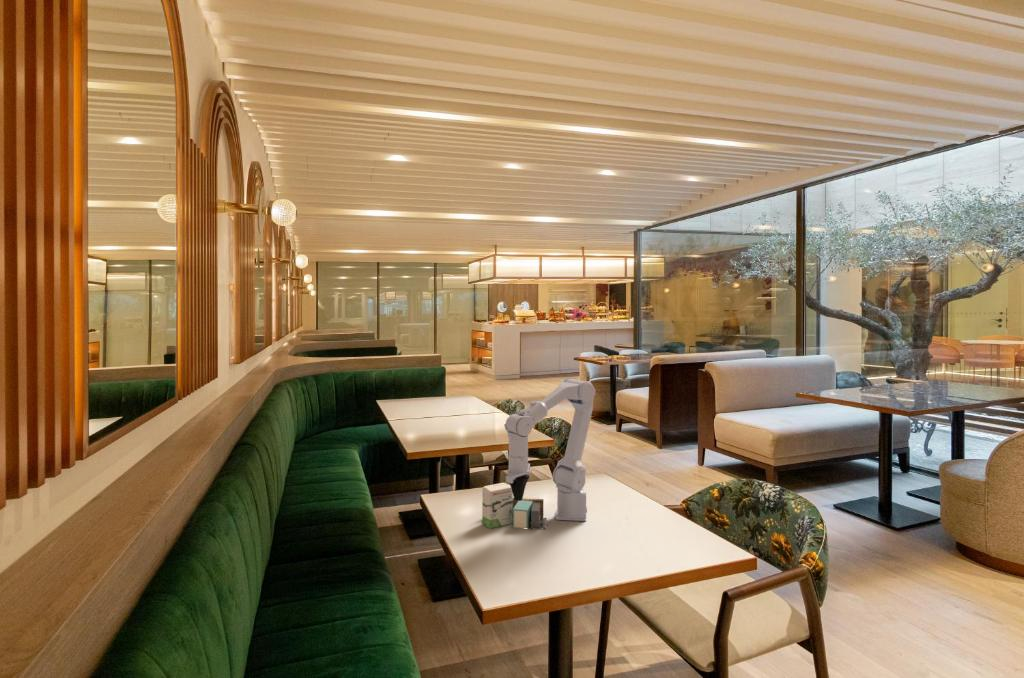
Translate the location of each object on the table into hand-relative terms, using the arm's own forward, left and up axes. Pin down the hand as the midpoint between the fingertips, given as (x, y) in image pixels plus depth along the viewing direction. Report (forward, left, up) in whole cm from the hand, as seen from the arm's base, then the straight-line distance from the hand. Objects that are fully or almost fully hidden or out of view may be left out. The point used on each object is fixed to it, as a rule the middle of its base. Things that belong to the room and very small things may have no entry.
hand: (518, 499), depth 174 cm
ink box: (+7, -6, -10) cm, 14 cm away
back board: (+2, -12, -10) cm, 15 cm away
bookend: (-5, -7, -10) cm, 13 cm away
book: (-1, -7, -10) cm, 12 cm away
